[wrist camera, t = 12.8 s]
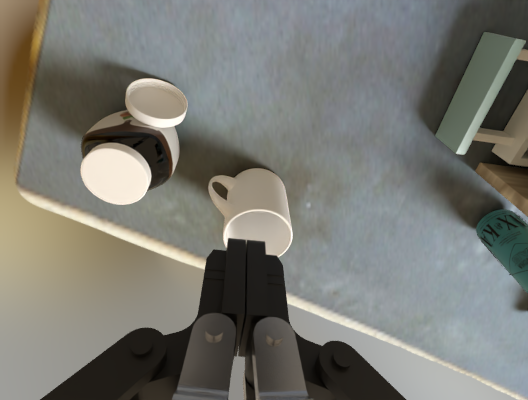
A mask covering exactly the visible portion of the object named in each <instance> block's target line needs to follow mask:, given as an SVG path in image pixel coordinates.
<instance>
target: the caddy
mask: <svg viewBox="0 0 528 400" xmlns="http://www.w3.org/2000/svg"><path fill="white" fill-rule="evenodd" d="M525 42H526V41H525V40H521V39H516V38H512V37H508V36H503V35H499V34H494V33H489V32H484V33H483V35H482V37H481V39H480V42H479V44H478V46H477V48H476V50H475V52H474V54H473V56H472V59H471V61H470V63H469V65H468V67H467V69H466V71H465V73H464V76H463V78H462V80H461V82H460V84H459V86H458V88H457V90H456V93H455V95H454V97H453V99H452V101H451V103H450V105H449V107H448V110H447V112H446V114H445V116H444V118H443V120H442V122H441V124H440V127H439V129H438V131H437V133H436V135H435V136H436V137H437V138H438V139H439V140H440V141H441V142H443V143H444V144H445V145H446V146H447V147H448V148H450V149H451V150H452V151H453V152H454V153H456V154H462V155H465V153H466V151H467V150H468V148H469V146H470V144H471V142H472V140H475V141H482V142H489V143H496V144H495V146H494V148H493V149H492V152H493V153H495V154H496V155H498V156H499V157H500V158H502V159H503V160H505V161H506V162H507V163H509V164H512V165H519V166H526V167H528V149H527V148H528V90H527V91H526V93H525V95H524V97H523V98H522V100H521V102H520V103H519V105H518V107H517V108H516V110H515V112H514V114H513V115H512V117H511V119H510V120H509V122H508V124H507V125H506V127H505V129H504V131H498V130H491V129H484V128H479V127H480V126H481V124H482V122H483V120H484V118H485V116H486V114H487V113H488V111H489V109H490V107H491V105H492V103H493V102H494V100H495V98H496V96H497V94H498V92H499V90H500V89H501V87H502V85H503V83H504V81H505V79H506V78H507V76H508V74H509V72H510V70H511V68H512V66H513V65H514V63H515V61H516V59H518V60H524V61H528V50H527V49H522V48H523V46H524V44H525Z"/></svg>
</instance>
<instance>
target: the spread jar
mask: <svg viewBox="0 0 528 400" xmlns="http://www.w3.org/2000/svg"><path fill="white" fill-rule="evenodd" d="M125 104H126V107H127V110H123V111H120V112H117V113H113V114H111V115H109V116H107V117H105V118H103V119H101V120H100V121H98V122H97V123H96V124H95V125H94V126H93V127H92V128H90V129H89V130H88V131H87V132H86V134H85V135H84V137H83V138H82V142H81V152H82V157H83V161H82V163H81V168H80V169H81V177H82V180H83V182H84V184H85V185H86V187H87V188H88V189H89V190H90V191H91V192H92V193H93V194H94V195H95V196H97V197H98V198H100V199H102V200H104V201H106V202H109V203H113V204H121V205H125V204H131V203H134V202H136V201H138V200H140V199H141V198H142V197H143V196H144V195H145V193H146V191H148V190H151V189H154V188H156V187H158V186H160V185H162V184H164V183H165V182H166V181H167V180H168V179H169V178H170V177H171V175H172V174H173V172H174V170H175V167H176V165H177V162H178V158H179V140H178V135H177V132H176V129H175V127H174V126H175V125H178V124H179V123H181V122H182V121H183V119H184V117H185V115H186V111H187V107H188V103H187V99H186V97H185V96H184V94H183V93H182V92H181V91H180V90H179V89H178V88H176V87H175V86H174V85H172V84H170V83H168V82H165V81H162V80H159V79H153V78H144V79H139V80H136V81H134V82H132V83H131V84H130V85H129V86H128V87H127V90H126V98H125Z"/></svg>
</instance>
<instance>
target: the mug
mask: <svg viewBox="0 0 528 400" xmlns="http://www.w3.org/2000/svg"><path fill="white" fill-rule="evenodd" d="M213 182H219V183H221V184H222V185H223V186H225V187H226V189H227V190H228V194H227V201H226V200H225V199H223V198H222V197H220V196H219V195H218V194H217V193H216V192H215V191H214V189H213V187H212V183H213ZM208 190H209V194H210V197H211V199H212V201H213V202H214V204H215V205H216V207H217V208H218V209H219V210H220V211H221V213H222V214H223V215H224V216H225V220H224V229H223V241H224V244H225V246H226V248H227V242H228V238H234V239H244V240H246V242H247V240H255V241H265V246H266V254H267V255H277V257H279V256H281V255H282V254H283V253H285V251H286V250H287V249H288V248H289V246H290V244H291V241H292V237H293V234H292V227H291V221H290V215H289V209H288V202H287V196H286V191H285V187H284V184H283V182H282V181H281V179H280V178H279V177H278V176H277V175H276V174H275V173H273V172H271V171H269V170H266V169H261V168H252V169H248V170H245V171H243V172H241V173H239V174H238V175H237V176H235V177H234V178H232V177H229V176H225V175H218V176H215V177H213V178H212V179H211V180H210V182H209V186H208Z"/></svg>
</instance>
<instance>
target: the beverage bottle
mask: <svg viewBox="0 0 528 400" xmlns="http://www.w3.org/2000/svg"><path fill="white" fill-rule="evenodd" d="M522 219H523V218H520V217H519V216H518V214H517V215H516V214H515V213H514V212H513V211H510V210H504V209H502V210H496V211H493V212H491V213H489V214H487V215H486V216H484V217H483V218H482V219H481V220H480V221H479V223H478V225H477V228H476V231H477V236H478V237H479V238H480V239H481V240H480V241H481V242H482V241H483V242H482V243H483V244H484V245H485V246H486V247H487V248H489V249H488V250H489V251H490V252H491V253H492V254H494V255H495V256H494V255H493V256H494V257H495V258H497V259H498V260H499V261H500V263H501V264H502V265H503V266H504V267H505V268H506V270H507V271H508V272H509V273H510V274H509V275H512V276H513V277H514V278H515V280H516V281H517V282H518V283H519V284H520V285H521V286H522V288H523V289H524V290H525V291H526V292H527V293H528V224H526V223H525V222H524V221H523V220H522ZM502 265H501V266H502ZM503 266H502V267H503Z"/></svg>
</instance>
